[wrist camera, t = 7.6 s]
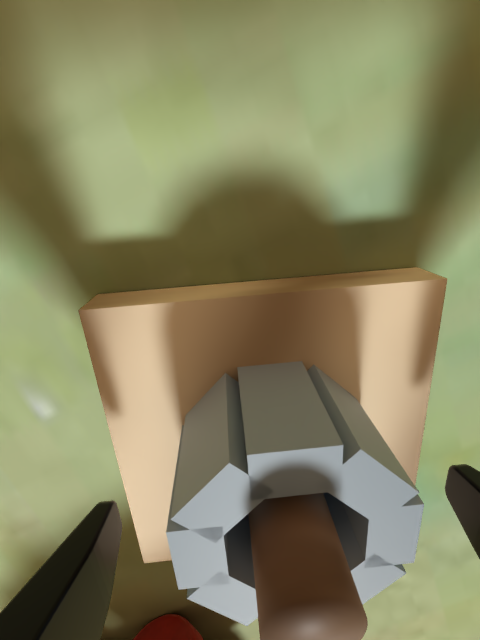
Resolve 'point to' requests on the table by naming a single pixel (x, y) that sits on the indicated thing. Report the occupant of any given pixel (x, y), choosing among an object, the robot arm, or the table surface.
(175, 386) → the pegboard
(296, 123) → the table surface
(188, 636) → the toy fire truck
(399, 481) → the ring
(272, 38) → the table surface
